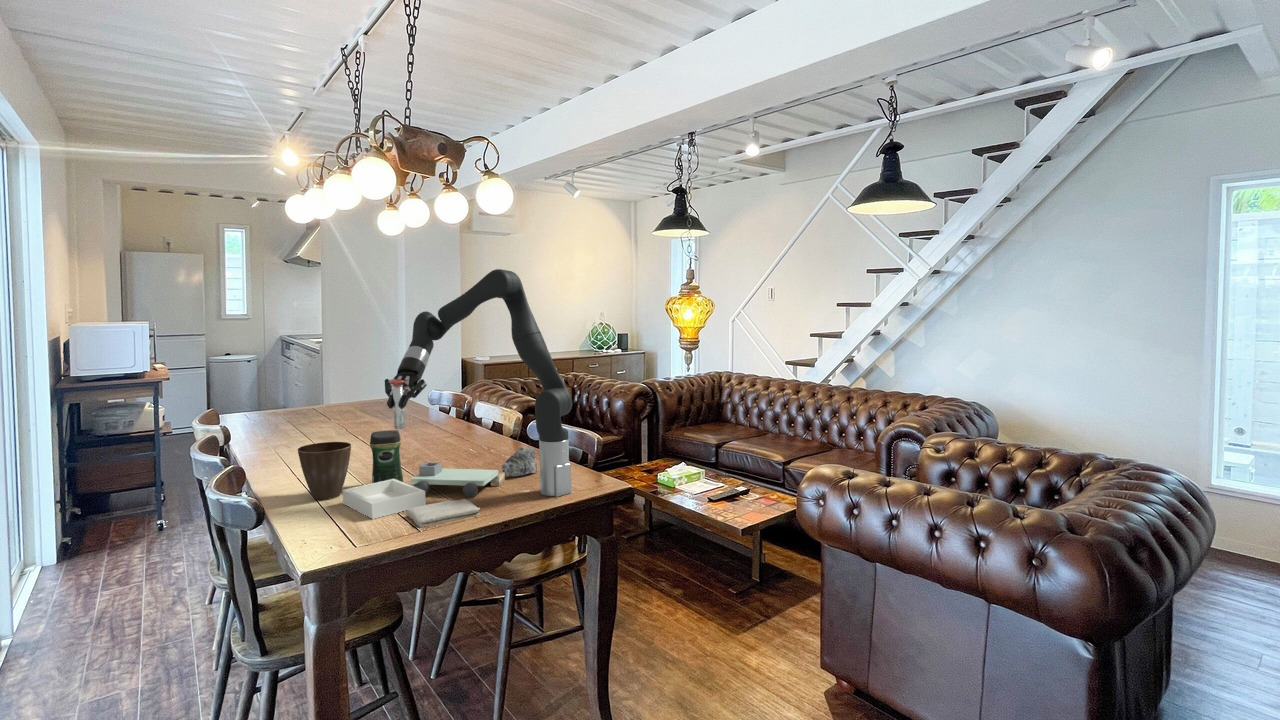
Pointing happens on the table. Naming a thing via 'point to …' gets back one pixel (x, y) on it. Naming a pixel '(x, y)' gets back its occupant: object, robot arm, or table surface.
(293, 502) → the table surface
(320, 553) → the table surface
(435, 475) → the trolley
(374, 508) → the tray
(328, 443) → the plant pot
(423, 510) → the washcloth
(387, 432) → the coffee jar
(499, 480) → the block
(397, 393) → the pin
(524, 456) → the mineral rock
